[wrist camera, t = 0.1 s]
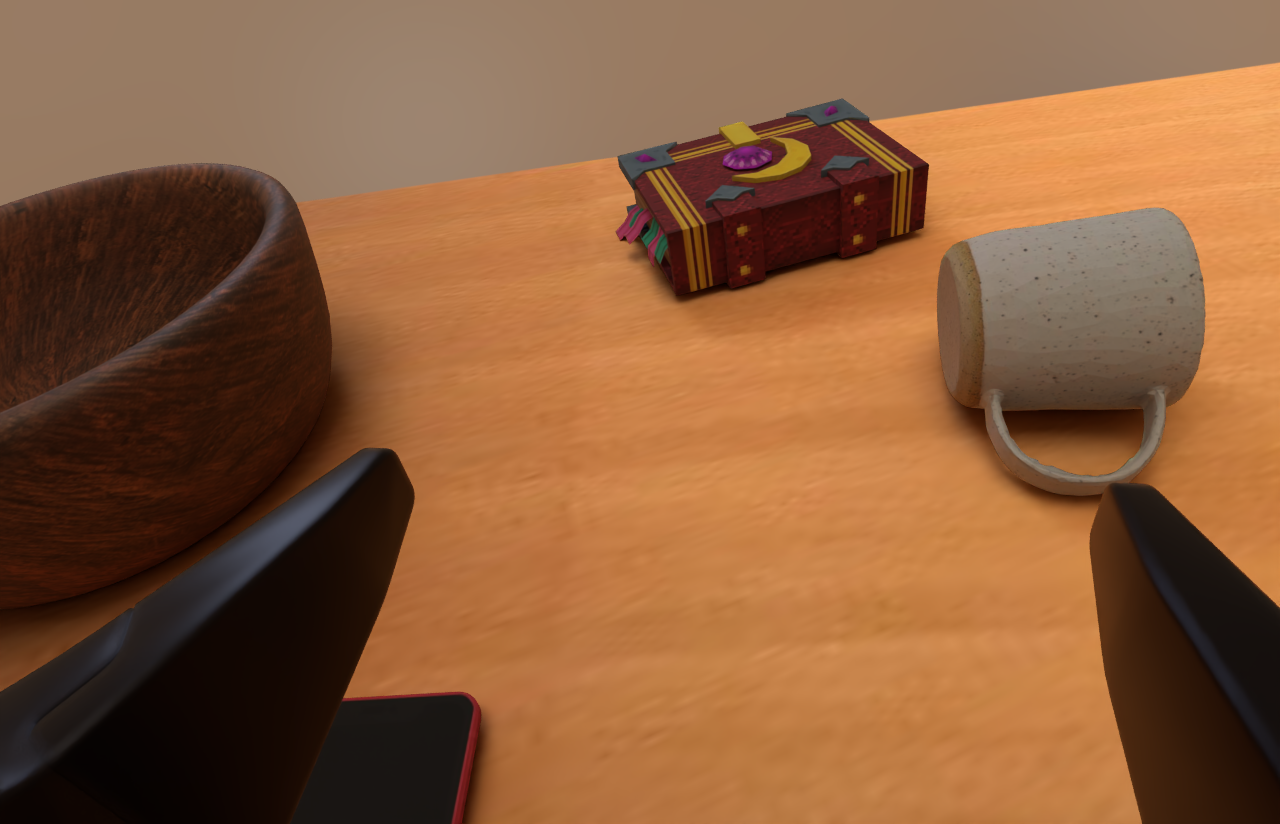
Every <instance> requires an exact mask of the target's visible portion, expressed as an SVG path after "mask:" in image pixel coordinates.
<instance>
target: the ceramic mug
mask: <svg viewBox="0 0 1280 824" xmlns="http://www.w3.org/2000/svg"><path fill="white" fill-rule="evenodd" d="M937 321H938V336H939V346H940V355H941V362H942V368H943V373H944V377H945V381H946V385H947V387H948V390H949V392H950V394H951V395H952V396H953V397H954V399H955V400H956V401H958V402H959V403H961V404H962V405H964V406H967V407H972V408H980V409H985V419H986V428H987V431H988V434H989V437H990V439H991V441H992V443H993V445H994V448H995V450H996V452H997V454H998V455H999V457H1000V458H1001V460H1002V461H1003V462H1004V464H1005V465H1006V466H1007V467H1008V468H1009V469H1010V470H1011V471H1012V472H1013V473H1014V474H1015V475H1016V476H1018V477H1019V478H1021V479H1022V480H1024V481H1025V482H1027V483H1029V484H1031V485H1033V486H1035V487H1038V488H1040V489H1043V490H1046V491H1049V492H1052V493H1057V494H1062V495H1076V496H1087V495H1096V494H1103V492H1104V490H1105V488H1106V487H1107V486H1108V485H1109V484H1111V483H1129V482H1130V481H1131V480H1132V479H1133V478H1134V477H1136V476H1137V475H1138V474H1139V473H1140V471H1141V470H1142V469H1143V468H1144V467H1145V466H1146V465H1147V464H1148V463H1149V462H1150V460H1151V459H1152V458H1153V456H1154V455H1155V453H1156V451H1157V449H1158V447H1159V445H1160V442H1161V439H1162V435H1163V431H1164V427H1165V419H1166V407H1168V406H1171V405H1173V404H1175V403H1176V402H1177V401H1178V400H1180V399H1181V398H1182V397H1183V395H1184V394H1185V392H1186V391H1187V389H1188V388H1189V386H1190V384H1191V382H1192V380H1193V378H1194V376H1195V374H1196V372H1197V370H1198V366H1199V362H1200V355H1201V350H1202V347H1203V344H1204V332H1205V294H1204V285H1203V277H1202V274H1201V270H1200V265H1199V259H1198V256H1197V253H1196V249H1195V246H1194V243H1193V241H1192V239H1191V237H1190V235H1189V233H1188V231H1187V229H1186V227H1185V226H1184V224H1183V223H1182V221H1181V220H1180V219H1179V218H1178V217H1177V216H1176V215H1175V214H1174V213H1172V212H1170V211H1168V210H1166V209H1164V208H1146V209H1140V210H1134V211H1128V212H1122V213H1116V214H1110V215H1104V216H1098V217H1091V218H1084V219H1077V220H1070V221H1064V222H1057V223H1051V224H1046V225H1040V226H1032V227H1023V228H1015V229H1007V230H1001V231H995V232H991V233H987V234H984V235H980V236H977V237H973V238H970V239H967V240H964V241H961V242H959V243H957V244H954V245H953V246H952V247H951V248H950V249H949V250H948V251H947V252H946V254H945V255H944V257H943V259H942V261H941V265H940V270H939V278H938V289H937ZM1047 409H1070V410H1109V409H1143V412H1144V432H1143V439H1142V443H1141V446H1140V449H1139V451H1138V452H1137V454H1136V455H1135V456H1134V457H1133V458H1130V459H1129V460H1128V461H1127V463H1126V464H1125V465H1124V466H1123V467H1121V468H1120V469H1118V470H1117V471H1115V472H1113V473H1110V474H1107V475H1099V476H1091V475H1076V474H1072V473H1068V472H1065V471H1063V470H1061V469H1058V468H1056V467H1054V466H1045V465H1042V464H1040V463H1039V462H1038V460H1036V459H1033V458H1030V457H1028V456H1027V455H1026V454H1024V453H1023V452H1022V451H1021V450H1020V448H1019V447H1018V446H1017V444H1016V443H1015V441H1014V440H1013V439H1012V438H1011V437H1010V435H1009V431H1008V429H1007V426H1006V424H1005V421H1004V418H1003V416H1002V411H1022V410H1047Z"/></svg>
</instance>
